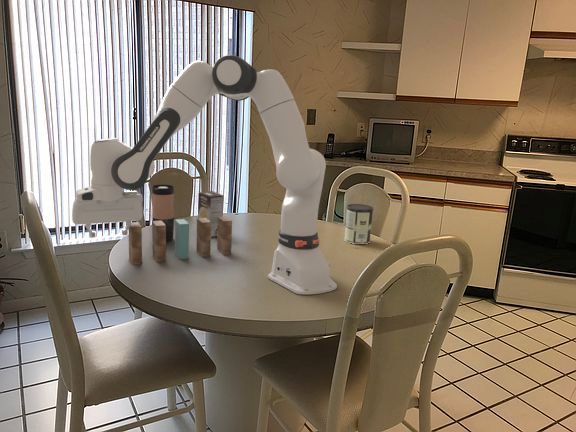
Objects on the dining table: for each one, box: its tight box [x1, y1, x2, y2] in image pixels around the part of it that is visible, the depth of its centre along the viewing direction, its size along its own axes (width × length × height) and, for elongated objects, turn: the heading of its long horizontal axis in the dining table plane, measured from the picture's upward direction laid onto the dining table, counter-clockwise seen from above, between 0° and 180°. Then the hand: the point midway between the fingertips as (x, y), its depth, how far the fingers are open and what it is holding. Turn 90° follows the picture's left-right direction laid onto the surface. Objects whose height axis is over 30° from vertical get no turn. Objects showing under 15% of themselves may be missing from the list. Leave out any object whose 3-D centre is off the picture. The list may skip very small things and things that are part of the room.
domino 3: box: [196, 217, 212, 258], centre depth 162 cm, size 3×6×12 cm, turn 27°
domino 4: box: [216, 215, 233, 256], centre depth 165 cm, size 3×6×12 cm, turn 27°
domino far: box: [128, 221, 143, 265], centre depth 152 cm, size 3×6×12 cm, turn 27°
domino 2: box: [174, 218, 190, 260], centre depth 158 cm, size 3×6×12 cm, turn 27°
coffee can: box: [343, 203, 374, 245], centre depth 187 cm, size 10×10×14 cm
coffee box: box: [197, 190, 224, 238], centre depth 186 cm, size 9×6×16 cm
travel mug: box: [151, 184, 175, 243], centre depth 174 cm, size 8×8×20 cm
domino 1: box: [151, 220, 167, 262], centre depth 155 cm, size 3×6×12 cm, turn 27°
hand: (109, 235), depth 147 cm, fingers open, 8 cm apart
